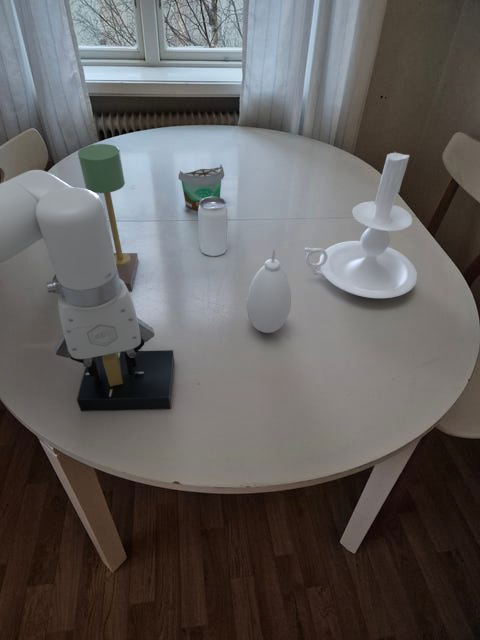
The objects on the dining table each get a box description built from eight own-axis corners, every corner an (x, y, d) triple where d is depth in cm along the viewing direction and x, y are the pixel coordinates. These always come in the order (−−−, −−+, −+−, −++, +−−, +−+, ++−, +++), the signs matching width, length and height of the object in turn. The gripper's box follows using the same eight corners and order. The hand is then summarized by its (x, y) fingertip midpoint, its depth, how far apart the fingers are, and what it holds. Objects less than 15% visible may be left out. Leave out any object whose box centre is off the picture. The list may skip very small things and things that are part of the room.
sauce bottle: (264, 309, 86) (271, 231, 74) (295, 328, 82) (307, 249, 70) (237, 328, 82) (240, 248, 70) (268, 349, 78) (276, 269, 66)
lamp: (100, 270, 88) (73, 159, 72) (106, 251, 93) (82, 143, 77) (135, 270, 88) (116, 160, 72) (139, 251, 93) (122, 144, 77)
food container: (188, 217, 112) (185, 180, 105) (180, 206, 116) (177, 170, 109) (231, 208, 116) (231, 172, 109) (222, 198, 120) (222, 163, 113)
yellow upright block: (123, 384, 68) (116, 357, 64) (110, 386, 67) (102, 360, 63) (119, 361, 71) (112, 334, 67) (107, 363, 71) (99, 337, 66)
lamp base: (53, 292, 88) (47, 277, 86) (66, 261, 96) (61, 246, 94) (132, 291, 89) (129, 276, 86) (138, 260, 97) (136, 246, 94)
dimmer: (80, 411, 67) (76, 399, 65) (93, 363, 75) (89, 350, 73) (170, 409, 68) (168, 397, 66) (174, 361, 75) (173, 349, 73)
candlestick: (290, 254, 100) (306, 131, 81) (392, 250, 103) (430, 129, 84) (310, 313, 86) (335, 180, 66) (428, 307, 88) (485, 176, 69)
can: (225, 240, 104) (225, 194, 96) (229, 256, 99) (229, 209, 91) (198, 242, 103) (196, 196, 95) (201, 258, 99) (199, 211, 90)
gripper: (20, 313, 52) (59, 403, 65) (159, 289, 56) (171, 378, 69) (23, 277, 57) (59, 367, 70) (150, 257, 61) (162, 345, 74)
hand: (114, 372), depth 69 cm, fingers open, 4 cm apart
